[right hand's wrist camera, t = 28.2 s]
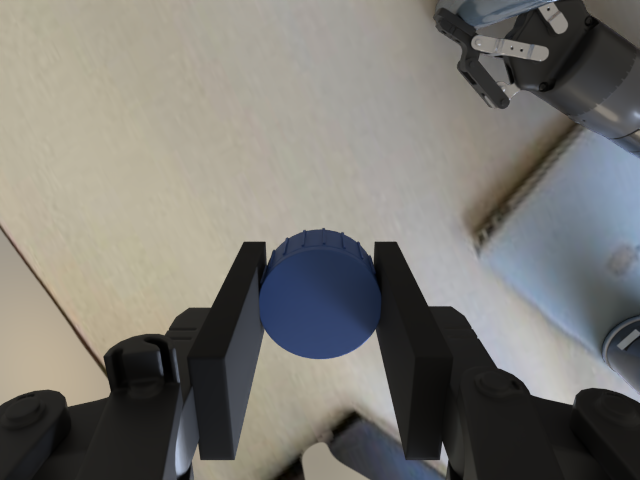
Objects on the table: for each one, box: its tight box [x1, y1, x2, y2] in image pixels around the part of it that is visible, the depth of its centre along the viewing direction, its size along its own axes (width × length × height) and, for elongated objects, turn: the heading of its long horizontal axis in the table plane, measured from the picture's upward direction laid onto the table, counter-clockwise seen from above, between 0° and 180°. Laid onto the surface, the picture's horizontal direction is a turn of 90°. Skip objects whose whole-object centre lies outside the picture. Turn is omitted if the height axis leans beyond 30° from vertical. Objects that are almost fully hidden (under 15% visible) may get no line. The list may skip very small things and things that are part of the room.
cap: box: [259, 228, 381, 359], centre depth 14 cm, size 4×4×2 cm
